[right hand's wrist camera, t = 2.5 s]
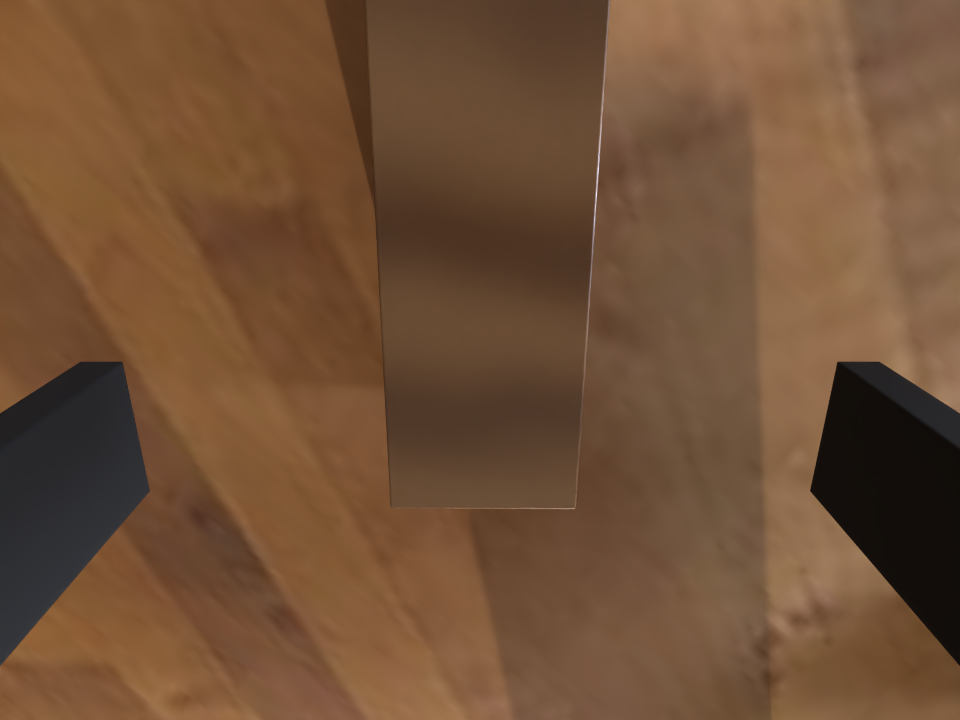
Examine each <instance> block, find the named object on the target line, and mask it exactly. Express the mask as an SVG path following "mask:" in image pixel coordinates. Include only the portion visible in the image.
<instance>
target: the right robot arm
mask: <svg viewBox="0 0 960 720" xmlns="http://www.w3.org/2000/svg"><path fill="white" fill-rule="evenodd" d="M149 491H150V490H149V485H148V480H147V475H146V471H145V466H144V461H143V457H142V452H141V447H140V442H139V438H138V433H137V428H136V424H135V419H134V414H133V409H132V405H131V400H130V395H129V391H128V386H127V381H126V376H125V372H124V367H123V362H80V363H78V364H76V365H75V366H73V367H72V368H70V369H69V370H67V371H66V372H64V373H62V374H61V375H59V376H58V377H56V378H55V379H53V380H52V381H50V382H48V383H47V384H45V385H44V386H42V387H41V388H39V389H38V390H36V391H34V392H33V393H31V394H30V395H28V396H27V397H25V398H24V399H22V400H20V401H19V402H17V403H16V404H14V405H13V406H11V407H10V408H8V409H6V410H5V411H3V412H2V413H0V665H1V664H2V663H3V662H4V661H5V660H6V658H7V657H8V656H9V655H10V654H11V653H12V651H13V650H14V649H15V648H16V647H17V646H18V644H19V643H20V642H21V641H22V640H23V639H24V637H25V636H26V635H27V634H28V633H29V632H30V630H31V629H32V628H33V627H34V626H35V625H36V623H37V622H38V621H39V620H40V619H41V618H42V616H43V615H44V614H45V613H46V612H47V611H48V609H49V608H50V607H51V606H52V605H53V604H54V602H55V601H56V600H57V599H58V598H59V596H60V595H61V594H62V593H63V592H64V591H65V589H66V588H67V587H68V586H69V585H70V584H71V582H72V581H73V580H74V579H75V578H76V577H77V575H78V574H79V573H80V572H81V571H82V570H83V568H84V567H85V566H86V565H87V564H88V563H89V561H90V560H91V559H92V558H93V557H94V556H95V554H96V553H97V552H98V551H99V550H100V549H101V547H102V546H103V545H104V544H105V543H106V542H107V540H108V539H109V538H110V537H111V536H112V535H113V533H114V532H115V531H116V530H117V529H118V528H119V526H120V525H121V524H122V523H123V522H124V521H125V519H126V518H127V517H128V516H129V515H130V514H131V512H132V511H133V510H134V509H135V508H136V507H137V505H138V504H139V503H140V502H141V501H142V499H143V498H144V497H145V496H146V495H147V494H148V492H149ZM810 491H811V492H812V494H813V495H814V496H815V497H816V498H817V499H818V501H819V502H820V503H821V504H822V505H823V507H824V508H825V509H826V510H827V511H828V512H829V514H830V515H831V516H832V517H833V518H834V519H835V521H836V522H837V523H838V524H839V525H840V526H841V528H842V529H843V530H844V531H845V532H846V533H847V535H848V536H849V537H850V538H851V539H852V540H853V542H854V543H855V544H856V545H857V546H858V547H859V549H860V550H861V551H862V552H863V553H864V554H865V556H866V557H867V558H868V559H869V560H870V561H871V563H872V564H873V565H874V566H875V567H876V568H877V570H878V571H879V572H880V573H881V574H882V575H883V577H884V578H885V579H886V580H887V581H888V582H889V584H890V585H891V586H892V587H893V588H894V589H895V591H896V592H897V593H898V594H899V595H900V596H901V598H902V599H903V600H904V601H905V602H906V604H907V605H908V606H909V607H910V608H911V609H912V611H913V612H914V613H915V614H916V615H917V616H918V618H919V619H920V620H921V621H922V622H923V623H924V625H925V626H926V627H927V628H928V629H929V630H930V632H931V633H932V634H933V635H934V636H935V637H936V639H937V640H938V641H939V642H940V643H941V644H942V646H943V647H944V648H945V649H946V650H947V651H948V653H949V654H950V655H951V656H952V657H953V658H954V660H955V661H956V662H957V663H958V664H959V665H960V413H958V412H957V411H955V410H954V409H952V408H950V407H949V406H947V405H946V404H944V403H943V402H941V401H940V400H938V399H936V398H935V397H933V396H932V395H930V394H929V393H927V392H926V391H924V390H922V389H921V388H919V387H918V386H916V385H915V384H913V383H912V382H910V381H908V380H907V379H905V378H904V377H902V376H901V375H899V374H898V373H896V372H894V371H893V370H891V369H890V368H888V367H887V366H885V365H884V364H882V363H880V362H837V367H836V372H835V376H834V381H833V386H832V391H831V395H830V400H829V405H828V409H827V414H826V419H825V424H824V428H823V433H822V438H821V442H820V447H819V452H818V457H817V461H816V466H815V471H814V475H813V480H812V485H811V490H810Z"/></svg>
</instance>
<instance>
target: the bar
mask: <svg viewBox="0 0 960 720" xmlns="http://www.w3.org/2000/svg"><path fill="white" fill-rule="evenodd" d="M364 7H365V26H366V45H367V64H368V84H369V103H370V122H371V141H372V160H373V179H374V199H375V218H376V237H377V256H378V275H379V294H380V313H381V333H382V352H383V371H384V390H385V409H386V428H387V448H388V467H389V486H390V505H391V508H432V509H575V508H576V499H577V484H578V469H579V454H580V440H581V425H582V410H583V395H584V381H585V366H586V351H587V337H588V322H589V307H590V292H591V278H592V263H593V248H594V233H595V219H596V204H597V189H598V174H599V160H600V145H601V130H602V116H603V101H604V86H605V71H606V57H607V42H608V27H609V12H610V0H364Z"/></svg>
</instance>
